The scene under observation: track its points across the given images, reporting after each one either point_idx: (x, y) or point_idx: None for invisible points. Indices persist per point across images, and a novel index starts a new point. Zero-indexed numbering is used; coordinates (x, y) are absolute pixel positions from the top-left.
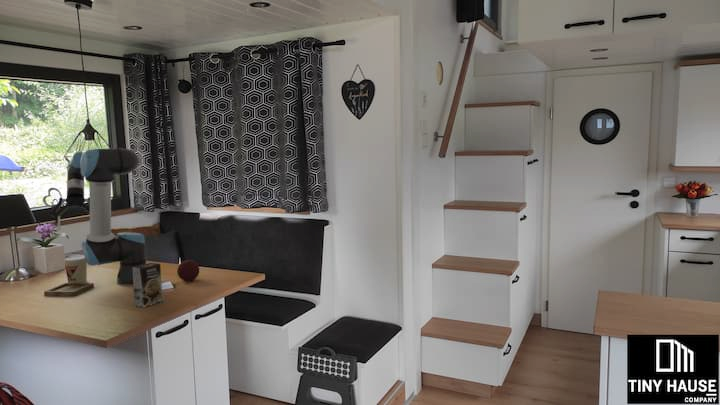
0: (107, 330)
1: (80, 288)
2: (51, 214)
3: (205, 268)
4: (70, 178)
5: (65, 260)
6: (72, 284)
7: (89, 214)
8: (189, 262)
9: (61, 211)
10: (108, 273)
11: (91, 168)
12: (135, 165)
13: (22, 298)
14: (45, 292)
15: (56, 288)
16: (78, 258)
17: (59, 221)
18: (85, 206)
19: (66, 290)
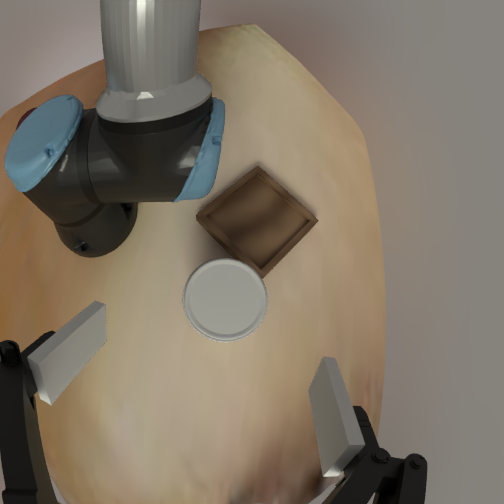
0: (247, 33)
1: (237, 184)
2: (419, 456)
3: None
4: None
5: (265, 291)
6: (245, 255)
7: (38, 425)
8: (33, 108)
9: (342, 495)
10: (118, 367)
11: None
12: None
13: (356, 240)
14: (314, 218)
15: (288, 242)
16: (214, 291)
17: (336, 398)
18: (11, 468)
19: (266, 214)
